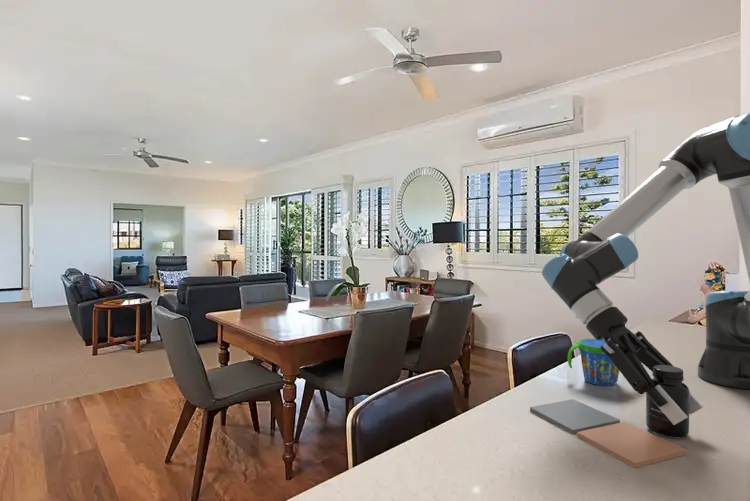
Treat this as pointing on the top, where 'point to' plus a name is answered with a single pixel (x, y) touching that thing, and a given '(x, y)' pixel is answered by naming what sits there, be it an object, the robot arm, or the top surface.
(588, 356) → the snack cup
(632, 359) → the robot arm
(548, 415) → the slate pad
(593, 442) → the terracotta pad
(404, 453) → the top surface
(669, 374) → the supplement bottle
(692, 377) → the top surface
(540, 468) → the top surface
